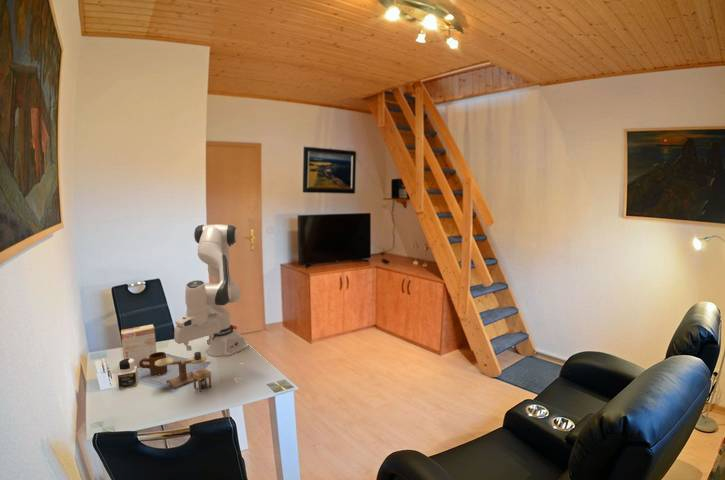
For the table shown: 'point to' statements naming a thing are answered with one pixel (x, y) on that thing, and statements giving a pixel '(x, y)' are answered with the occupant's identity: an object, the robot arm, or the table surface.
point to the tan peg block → (201, 377)
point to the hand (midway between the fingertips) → (199, 347)
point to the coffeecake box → (138, 343)
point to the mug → (152, 359)
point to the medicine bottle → (127, 374)
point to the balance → (181, 369)
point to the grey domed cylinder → (203, 384)
